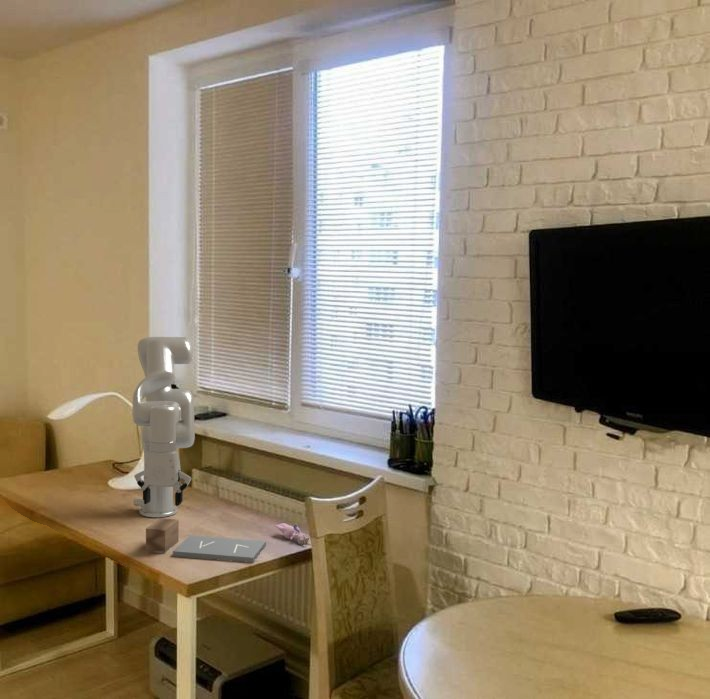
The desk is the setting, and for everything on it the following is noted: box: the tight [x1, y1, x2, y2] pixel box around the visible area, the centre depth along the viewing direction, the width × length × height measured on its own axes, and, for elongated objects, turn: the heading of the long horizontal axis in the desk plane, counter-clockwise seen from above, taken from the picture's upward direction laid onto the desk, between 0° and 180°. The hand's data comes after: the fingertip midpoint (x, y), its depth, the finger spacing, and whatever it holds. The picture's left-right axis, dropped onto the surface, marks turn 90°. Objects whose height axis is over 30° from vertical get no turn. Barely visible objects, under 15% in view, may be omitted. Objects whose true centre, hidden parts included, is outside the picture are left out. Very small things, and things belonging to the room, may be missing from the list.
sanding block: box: [145, 517, 180, 554], centre depth 233 cm, size 6×10×7 cm, turn 170°
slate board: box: [172, 535, 267, 563], centre depth 230 cm, size 24×14×2 cm, turn 82°
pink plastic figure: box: [274, 522, 311, 546], centre depth 242 cm, size 6×6×15 cm
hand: (162, 503), depth 231 cm, fingers open, 9 cm apart
